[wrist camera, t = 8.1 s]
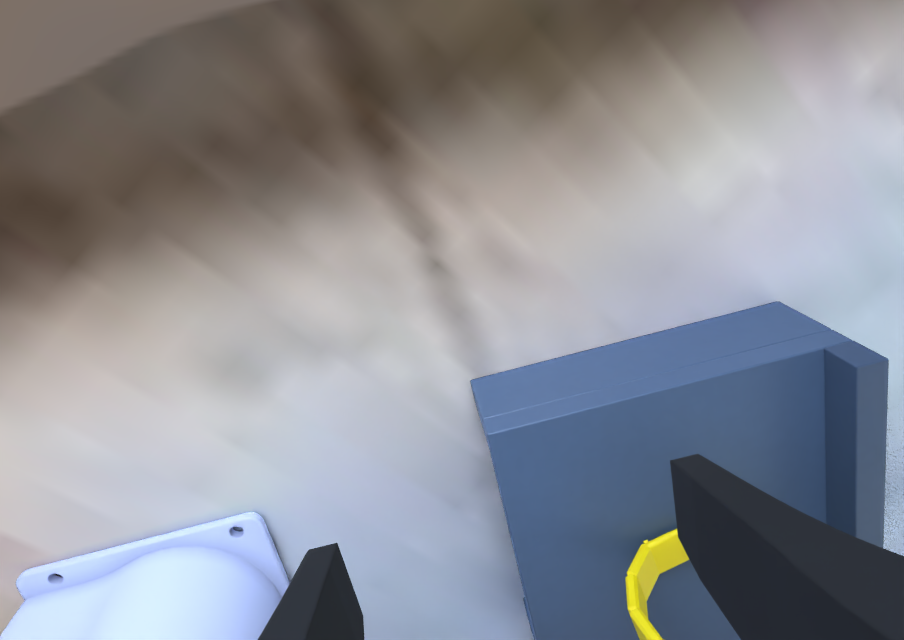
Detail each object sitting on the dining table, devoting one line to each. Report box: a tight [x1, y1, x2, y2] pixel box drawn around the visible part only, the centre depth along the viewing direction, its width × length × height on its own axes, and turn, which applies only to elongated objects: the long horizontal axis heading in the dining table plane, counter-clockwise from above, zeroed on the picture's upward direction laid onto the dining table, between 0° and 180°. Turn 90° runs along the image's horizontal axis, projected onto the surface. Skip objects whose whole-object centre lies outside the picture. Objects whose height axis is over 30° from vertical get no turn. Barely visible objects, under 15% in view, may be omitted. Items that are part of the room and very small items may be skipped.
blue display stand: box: [470, 302, 888, 640], centre depth 23 cm, size 12×12×6 cm
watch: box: [625, 529, 689, 640], centre depth 19 cm, size 6×3×6 cm, turn 112°
